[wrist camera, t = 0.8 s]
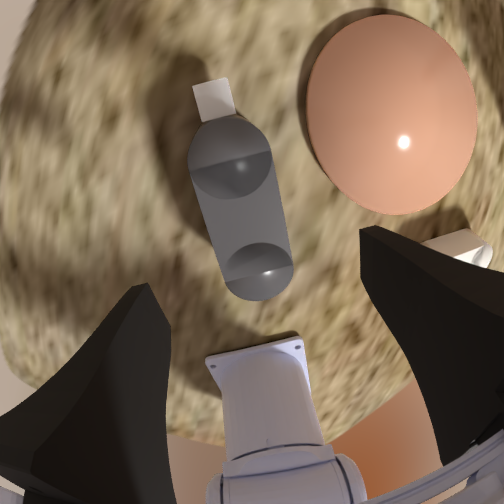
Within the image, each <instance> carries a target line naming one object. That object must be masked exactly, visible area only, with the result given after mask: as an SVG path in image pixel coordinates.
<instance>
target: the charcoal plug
mask: <svg viewBox="0 0 504 504" xmlns="http://www.w3.org/2000/svg"><path fill="white" fill-rule="evenodd" d="M192 87H193V91H194V95H195V99H196V102H197V106H198V110H199V113H200V117H201V121H202V122H204V123H203V124H202V125H201V126H200V127H199V129H198V130H197V132H196V134H195V136H194V138H193V140H192V143H191V145H190V147H189V151H188V157H187V163H188V169H189V173H190V176H191V179H192V183H193V186H194V189H195V192H196V195H197V199H198V202H199V205H200V208H201V211H202V214H203V218H204V221H205V224H206V227H207V230H208V233H209V236H210V239H211V242H212V245H213V248H214V251H215V254H216V257H217V260H218V263H219V266H220V269H221V272H222V275H223V278H224V281H225V283H226V286H227V287H228V289H229V290H230V291H231V292H232V293H233V294H234V295H236V296H237V297H239V298H242V299H244V300H249V301H262V300H267V299H270V298H272V297H275V296H276V295H278V294H280V293H281V292H282V291H283V290H284V289H285V288H286V287H287V286H288V285H289V283H290V281H291V279H292V276H293V270H294V268H293V261H292V255H291V250H290V244H289V239H288V233H287V228H286V223H285V217H284V212H283V207H282V202H281V197H280V192H279V187H278V182H277V177H276V172H275V167H274V162H273V158H272V153H271V149H270V145H269V143H268V141H267V139H266V137H265V136H264V135H263V133H262V132H261V131H260V130H259V129H258V128H256V127H255V126H254V125H253V124H252V123H251V122H249V121H248V120H247V119H245V118H244V117H242V116H239V115H236V110H235V106H234V102H233V98H232V94H231V90H230V86H229V82H228V78H227V77H225V78H220V79H216V80H212V81H208V82H205V83H201V84H197V85H194V86H192Z"/></svg>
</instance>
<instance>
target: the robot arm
mask: <svg viewBox="0 0 504 504" xmlns="http://www.w3.org/2000/svg"><path fill="white" fill-rule="evenodd" d="M359 235H360V277H361V280H362V283H363V285H364V287H365V289H366V291H367V293H368V295H369V297H370V299H371V301H372V303H373V304H374V306H375V308H376V309H377V311H378V312H379V314H380V315H381V317H382V318H383V320H384V321H385V323H386V325H387V326H388V328H389V329H390V331H391V332H392V334H393V336H394V337H395V339H396V340H397V342H398V344H399V345H400V347H401V348H402V350H403V352H404V354H405V356H406V358H407V360H408V362H409V364H410V366H411V369H412V371H413V373H414V375H415V378H416V380H417V382H418V385H419V387H420V390H421V392H422V395H423V398H424V401H425V404H426V407H427V409H428V413H429V416H430V419H431V422H432V425H433V429H434V433H435V437H436V441H437V446H438V450H439V454H440V460H441V462H442V464H443V467H442V468H440V469H438V470H436V471H434V472H432V473H430V474H428V475H426V476H424V477H422V478H420V479H418V480H416V481H414V482H412V483H410V484H407V485H405V486H403V487H400V488H398V489H395V490H393V491H391V492H388V493H386V494H383V495H380V496H378V497H375V498H372V499H370V500H367V495H366V490H365V485H364V482H363V479H362V476H361V473H360V471H359V469H358V467H357V465H356V464H355V463H354V461H353V460H351V459H350V458H348V457H347V456H345V455H344V454H342V453H341V454H335V455H334V451H333V448H332V445H331V444H329V445H325V442H324V439H323V435H322V432H321V428H320V425H319V421H318V418H317V414H316V411H315V408H314V404H313V401H312V397H311V389H310V383H309V376H308V369H307V362H306V356H305V350H304V343H303V339H302V337H300V336H294V337H291V338H287V339H283V340H279V341H275V342H271V343H267V344H263V345H258V346H254V347H250V348H245V349H241V350H236V351H232V352H227V353H222V354H217V355H212V356H208V357H206V359H205V364H206V366H207V368H208V369H209V371H210V373H211V375H212V376H213V378H214V380H215V382H216V383H217V385H218V387H219V389H220V390H221V392H222V404H223V418H224V431H225V444H226V455H227V461H226V462H223V463H222V466H223V473H219V474H215V475H214V476H213V478H212V479H211V481H209V483H208V485H207V489H206V504H420V503H422V502H425V501H427V500H429V499H431V498H432V497H435V496H436V495H438V494H440V493H442V492H444V491H446V490H448V489H449V488H451V487H453V486H455V485H456V484H458V483H460V482H461V481H463V480H465V479H466V478H468V477H469V479H468V480H467V484H466V487H465V488H464V489H463V490H461V491H460V492H458V493H456V494H454V495H453V496H451V497H449V498H447V499H445V500H444V501H442V502H440V503H438V504H504V273H503V272H499V271H495V270H491V269H487V268H484V267H480V266H477V265H474V264H471V263H468V262H465V261H462V260H459V259H456V258H453V257H451V256H448V255H446V254H443V253H441V252H438V251H436V250H433V249H431V248H429V247H426V246H424V245H422V244H420V243H417V242H415V241H413V240H410V239H408V238H406V237H404V236H401V235H399V234H397V233H395V232H392V231H390V230H387V229H385V228H382V227H379V226H376V225H374V226H371V227H367V228H363V229H359ZM297 345H298V346H297ZM170 358H171V329H170V324H169V322H168V321H167V319H166V317H165V315H164V313H163V311H162V309H161V307H160V306H159V304H158V302H157V300H156V298H155V296H154V294H153V292H152V290H151V288H150V286H149V284H148V283H145V284H141V285H137V286H132V287H131V288H130V289H129V290H128V291H127V292H126V293H125V295H124V296H123V297H122V298H121V299H120V300H119V302H118V303H117V304H116V305H115V307H114V308H113V309H112V310H111V311H110V313H109V314H108V315H107V316H106V318H105V319H104V320H103V321H102V323H101V324H100V325H99V326H98V328H97V329H96V330H95V331H94V332H93V334H92V335H91V336H90V337H89V338H88V339H87V341H86V342H85V343H84V344H83V345H82V347H81V348H80V349H79V350H78V351H77V352H76V353H75V354H74V356H73V357H72V358H71V359H70V360H69V361H68V362H67V363H66V364H65V365H64V366H63V367H62V368H61V369H60V370H59V371H58V372H57V373H56V374H55V375H54V376H52V377H51V378H50V379H49V380H48V381H47V382H46V383H45V384H44V385H42V386H41V387H40V388H39V389H38V390H37V391H36V392H35V393H33V394H32V395H31V396H29V397H28V398H27V399H26V400H24V401H23V402H21V403H20V404H19V405H17V406H16V407H15V408H13V409H12V410H10V411H9V412H7V413H6V414H4V415H2V416H0V475H1V476H2V477H4V478H5V479H7V480H9V481H10V482H12V483H14V484H15V485H17V486H19V487H21V488H23V489H24V490H25V493H24V496H22V495H20V494H18V493H15V492H13V491H11V490H8V489H5V488H3V487H1V486H0V504H177V503H176V498H175V494H174V489H173V484H172V478H171V472H170V466H169V458H168V448H167V435H166V399H167V388H168V378H169V368H170Z"/></svg>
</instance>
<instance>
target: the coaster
mask: <svg viewBox="0 0 504 504" xmlns="http://www.w3.org/2000/svg"><path fill="white" fill-rule="evenodd" d="M306 122H307V129H308V133H309V137H310V142H311V145H312V147H313V150H314V152H315V155H316V157H317V159H318V161H319V163H320V165H321V167H322V169H323V170H324V171H325V173H326V174H327V176H328V177H329V179H330V180H331V181H332V182H333V183H334V184H335V185H336V186H337V188H338V189H339V190H341V191H342V192H343V193H344V194H345V195H346V196H348V197H349V198H350V199H351V200H353V201H354V202H356V203H357V204H359V205H361V206H362V207H365V208H367V209H369V210H371V211H375V212H378V213H382V214H391V215H401V214H408V213H413V212H416V211H419V210H422V209H425V208H427V207H429V206H431V205H432V204H434V203H435V202H437V201H438V200H440V199H441V198H442V197H444V196H445V195H446V194H447V193H448V192H449V191H450V190H451V189H452V188H453V187H454V186H455V184H456V183H457V182H458V180H459V179H460V177H461V176H462V174H463V172H464V171H465V169H466V167H467V165H468V163H469V160H470V158H471V155H472V152H473V149H474V145H475V140H476V134H477V104H476V98H475V93H474V89H473V86H472V83H471V80H470V77H469V75H468V73H467V70H466V68H465V66H464V65H463V63H462V61H461V59H460V58H459V56H458V55H457V53H456V52H455V51H454V49H453V48H452V47H451V46H450V45H449V44H448V43H447V42H446V40H445V39H443V38H442V37H441V36H440V35H439V34H438V33H436V32H435V31H434V30H432V29H431V28H429V27H428V26H426V25H424V24H422V23H420V22H418V21H416V20H413V19H410V18H407V17H403V16H397V15H376V16H370V17H367V18H364V19H361V20H358V21H355V22H353V23H351V24H349V25H347V26H346V27H344V28H342V29H341V30H340V31H339V32H337V33H336V34H335V35H334V36H333V37H332V38H331V39H330V40H329V41H328V42H327V43H326V44H325V46H324V47H323V49H322V50H321V52H320V53H319V55H318V57H317V58H316V61H315V63H314V65H313V68H312V70H311V73H310V77H309V81H308V85H307V92H306Z"/></svg>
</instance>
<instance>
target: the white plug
mask: <svg viewBox="0 0 504 504" xmlns="http://www.w3.org/2000/svg"><path fill="white" fill-rule="evenodd" d="M420 244H422V245H424V246H426V247H429V248H431V249H433V250H436V251H438V252H441V253H443V254H446V255H448V256H451V257H453V258H456V259H459V260H462V261H465V262H468V263H471V264H474V265H477V266H480V267H484V268H486V267H487V266H488V264H489V262H490V260H491V258H492V253H493V250H492V247H491V246H490V245H489V244H488V243H487V242H485V241H484V240H483V239H482V238H480V237H479V236H478V235H477V234H475V233H474V232H473V231H471V230H470V229H468V228H465V229H462V230H459V231H456V232H452V233H449V234H446V235H443V236H440V237H437V238H433V239H430V240H427V241H424V242H422V243H420Z"/></svg>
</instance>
